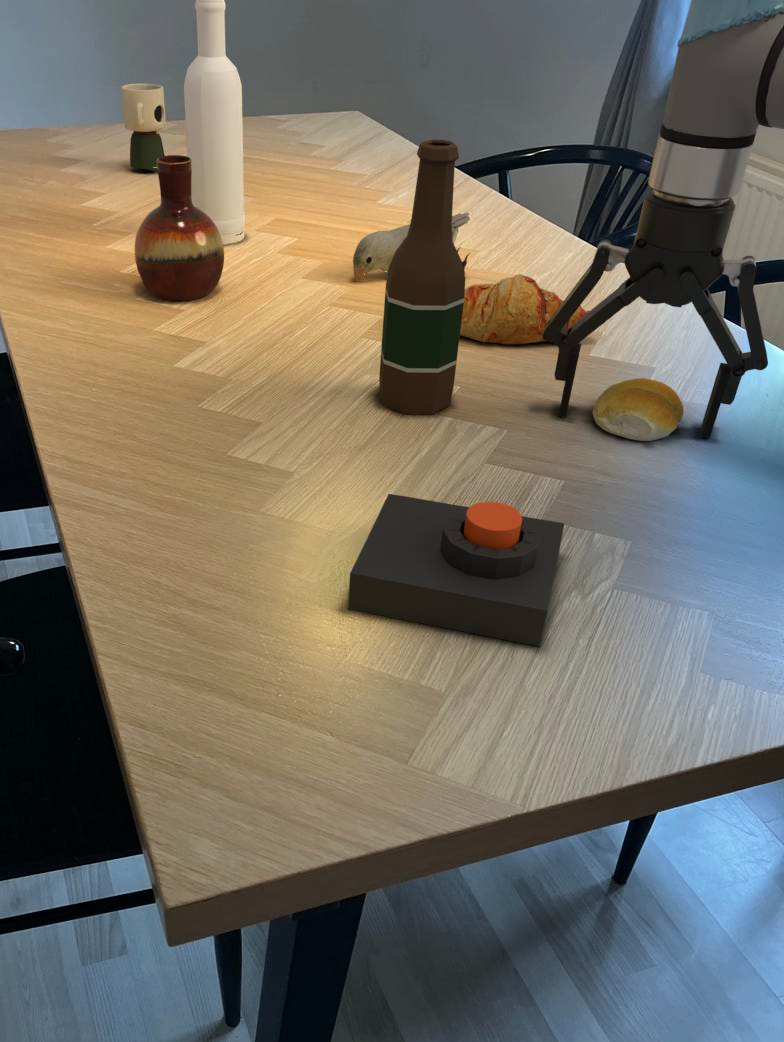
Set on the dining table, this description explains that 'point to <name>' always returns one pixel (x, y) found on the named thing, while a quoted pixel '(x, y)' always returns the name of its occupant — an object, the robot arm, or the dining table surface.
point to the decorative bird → (390, 247)
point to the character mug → (144, 123)
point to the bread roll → (639, 409)
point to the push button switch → (455, 572)
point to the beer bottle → (424, 295)
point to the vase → (178, 239)
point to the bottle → (215, 125)
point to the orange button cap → (492, 525)
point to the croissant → (510, 311)
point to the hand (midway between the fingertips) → (633, 422)
